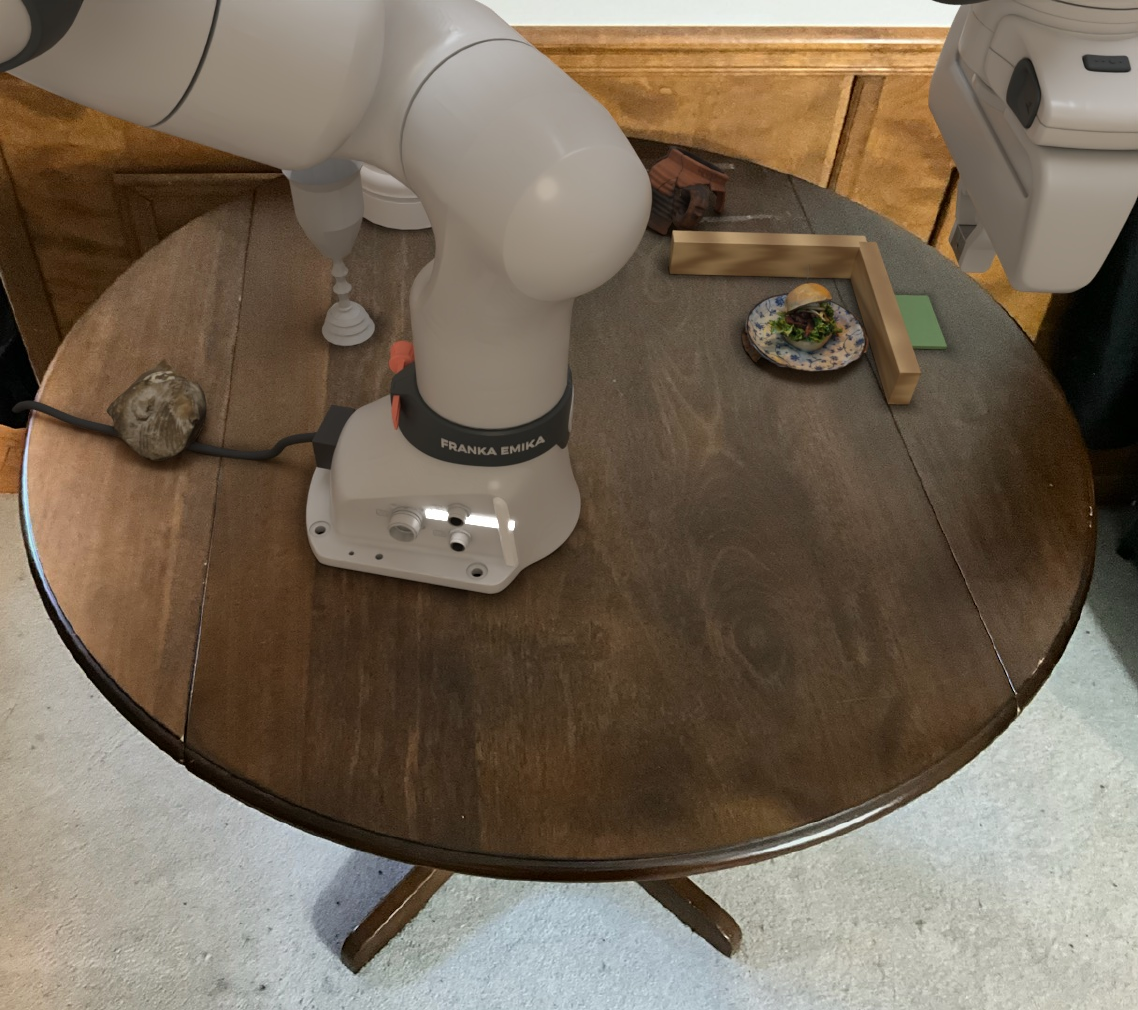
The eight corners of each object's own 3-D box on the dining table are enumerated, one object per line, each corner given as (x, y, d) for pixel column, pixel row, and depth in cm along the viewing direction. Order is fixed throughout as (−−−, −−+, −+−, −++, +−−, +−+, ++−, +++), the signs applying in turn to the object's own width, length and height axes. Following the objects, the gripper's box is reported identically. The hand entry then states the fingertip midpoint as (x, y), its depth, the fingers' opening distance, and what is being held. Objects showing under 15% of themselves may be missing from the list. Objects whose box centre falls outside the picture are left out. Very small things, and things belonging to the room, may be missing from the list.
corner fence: (684, 400, 96) (690, 367, 93) (668, 262, 110) (672, 230, 107) (909, 404, 97) (921, 372, 94) (864, 267, 110) (874, 235, 107)
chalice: (362, 360, 98) (337, 192, 84) (298, 342, 99) (263, 173, 86) (397, 315, 102) (379, 148, 89) (335, 298, 104) (308, 131, 90)
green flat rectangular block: (895, 348, 102) (896, 345, 102) (879, 297, 107) (880, 294, 107) (946, 349, 102) (947, 346, 102) (927, 298, 107) (928, 295, 107)
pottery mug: (618, 201, 118) (651, 132, 114) (687, 231, 122) (721, 164, 118) (650, 238, 108) (688, 163, 104) (724, 268, 112) (762, 197, 108)
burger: (740, 377, 98) (753, 314, 93) (743, 299, 106) (755, 237, 100) (867, 392, 98) (889, 330, 92) (861, 313, 105) (881, 251, 100)
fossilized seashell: (221, 439, 87) (217, 376, 94) (160, 389, 83) (161, 328, 90) (153, 490, 88) (155, 424, 96) (90, 443, 84) (96, 378, 91)
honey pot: (420, 243, 110) (406, 80, 97) (328, 202, 114) (302, 40, 101) (491, 189, 117) (488, 30, 104) (402, 152, 122) (388, -5, 108)
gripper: (944, -57, 59) (879, 163, 69) (1058, 132, 46) (957, 369, 56) (1054, -53, 59) (973, 166, 70) (1199, 137, 46) (1072, 372, 56)
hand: (966, 258), depth 63 cm, fingers closed
